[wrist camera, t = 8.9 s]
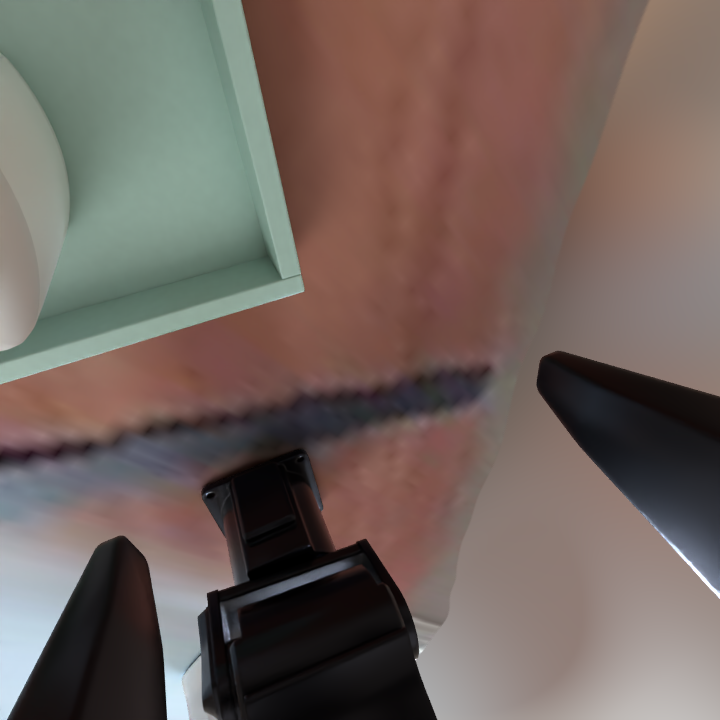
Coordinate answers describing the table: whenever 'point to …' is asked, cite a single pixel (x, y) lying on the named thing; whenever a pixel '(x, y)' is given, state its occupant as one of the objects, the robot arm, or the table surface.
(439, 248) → the table surface
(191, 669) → the toy character
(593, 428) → the robot arm
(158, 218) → the green tray
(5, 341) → the eye dropper bottle
